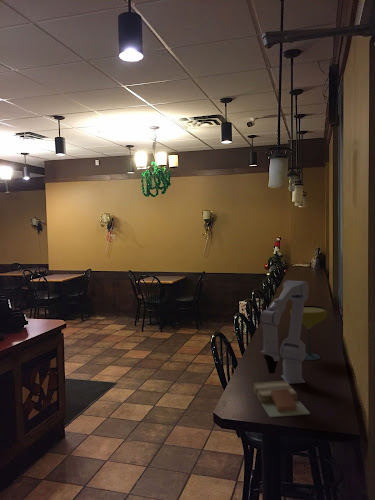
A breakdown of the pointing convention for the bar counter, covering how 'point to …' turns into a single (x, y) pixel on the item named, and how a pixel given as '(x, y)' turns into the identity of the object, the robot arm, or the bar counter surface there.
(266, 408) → the sage mat
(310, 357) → the cocktail glass
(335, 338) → the bar counter surface
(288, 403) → the terracotta tile
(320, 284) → the bar counter surface
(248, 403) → the bar counter surface
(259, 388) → the birch deck
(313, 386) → the bar counter surface
